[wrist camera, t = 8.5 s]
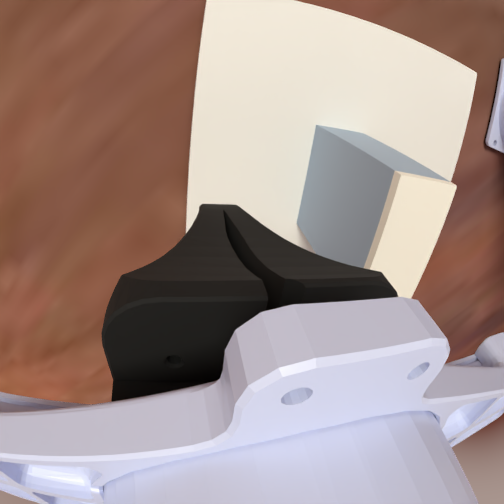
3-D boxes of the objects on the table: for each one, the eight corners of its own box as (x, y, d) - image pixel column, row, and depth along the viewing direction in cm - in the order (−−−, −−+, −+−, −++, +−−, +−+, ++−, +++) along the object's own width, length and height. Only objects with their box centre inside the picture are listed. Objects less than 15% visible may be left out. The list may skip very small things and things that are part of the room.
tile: (467, 70, 16) (477, 73, 15) (403, 278, 25) (409, 285, 25) (207, -8, 12) (208, -12, 11) (184, 284, 21) (185, 294, 21)
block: (363, 133, 17) (456, 186, 10) (340, 224, 20) (406, 307, 13) (316, 124, 16) (400, 174, 10) (296, 222, 19) (352, 313, 13)
